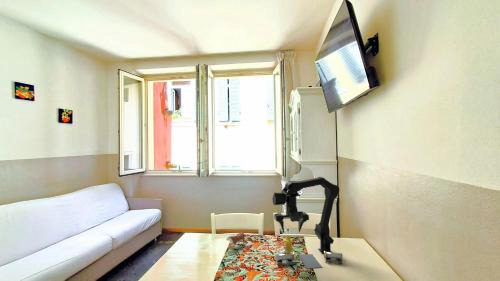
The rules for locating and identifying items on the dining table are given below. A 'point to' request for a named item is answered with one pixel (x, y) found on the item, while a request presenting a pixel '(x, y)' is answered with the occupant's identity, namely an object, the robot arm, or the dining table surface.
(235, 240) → the bull figurine
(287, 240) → the pressure relief valve
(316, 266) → the seat mat
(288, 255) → the shaft
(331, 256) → the shaft
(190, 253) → the dining table surface
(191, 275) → the dining table surface
